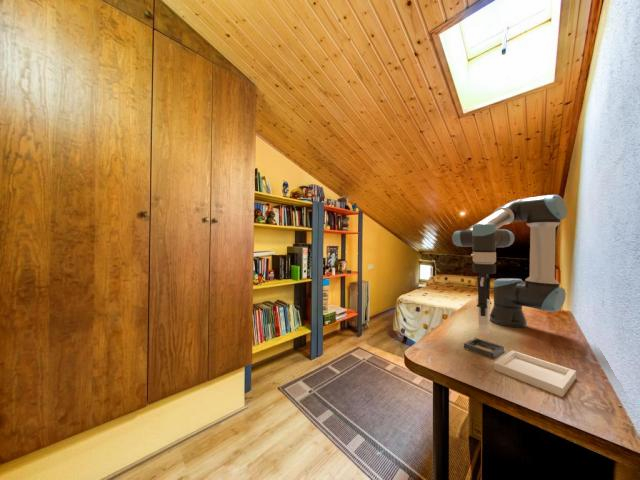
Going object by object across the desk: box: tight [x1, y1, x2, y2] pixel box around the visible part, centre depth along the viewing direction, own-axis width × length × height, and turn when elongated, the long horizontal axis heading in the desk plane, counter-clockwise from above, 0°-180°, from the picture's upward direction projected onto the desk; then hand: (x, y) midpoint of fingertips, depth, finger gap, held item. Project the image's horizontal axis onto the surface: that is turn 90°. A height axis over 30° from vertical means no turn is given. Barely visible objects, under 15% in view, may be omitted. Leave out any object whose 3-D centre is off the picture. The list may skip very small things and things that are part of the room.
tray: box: [493, 350, 577, 398], centre depth 74 cm, size 16×16×2 cm
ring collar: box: [463, 337, 505, 360], centre depth 90 cm, size 10×10×2 cm
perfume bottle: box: [476, 298, 492, 334], centre depth 90 cm, size 5×4×15 cm
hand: (484, 321), depth 90 cm, fingers closed on perfume bottle, 4 cm apart
